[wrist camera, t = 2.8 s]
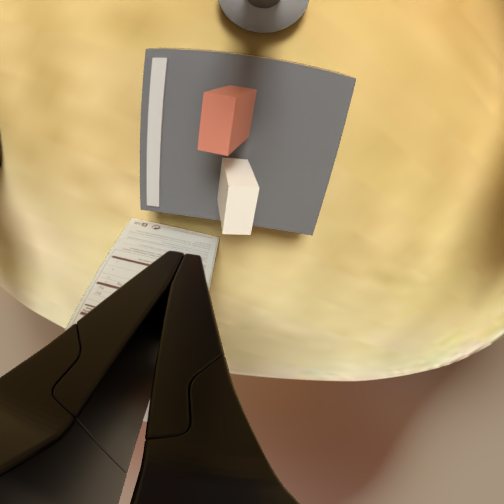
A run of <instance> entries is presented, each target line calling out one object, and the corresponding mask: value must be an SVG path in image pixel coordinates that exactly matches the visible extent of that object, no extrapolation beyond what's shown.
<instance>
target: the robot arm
mask: <svg viewBox="0 0 504 504" xmlns="http://www.w3.org/2000/svg"><path fill="white" fill-rule="evenodd" d="M0 166H1V164H0ZM149 401H150V404H149ZM148 404H149V411H148V419H147V427H146V435H145V439H146V441H145V444H144V453H143V458H142V463H141V468H140V472H139V475H138V479H137V482H136V486H135V489H134V492H133V496H132V499H131V502H130V504H300V503H299V502H298V501H297V500H296V499H295V498H294V497H293V496H292V495H291V494H290V493H289V491H288V490H287V489H286V488H285V487H284V486H283V484H282V483H281V482H280V480H279V479H278V477H277V476H276V474H275V473H274V471H273V469H272V468H271V466H270V464H269V462H268V460H267V459H266V457H265V455H264V453H263V451H262V449H261V446H260V444H259V443H258V440H257V438H256V436H255V434H254V432H253V430H252V428H251V426H250V424H249V422H248V419H247V418H246V415H245V413H244V411H243V408H242V406H241V404H240V401H239V399H238V396H237V394H236V391H235V389H234V386H233V382H232V379H231V376H230V373H229V369H228V365H227V362H226V358H225V357H224V351H223V347H222V343H221V339H220V335H219V331H218V327H217V323H216V319H215V315H214V311H213V306H212V302H211V298H210V294H209V289H208V285H207V281H206V276H205V272H204V267H203V263H202V258H201V256H200V255H195V254H189V253H187V254H185V255H184V253H183V252H177V251H168V252H166V253H165V254H163V255H162V256H161V257H159V258H158V259H157V260H155V261H154V262H153V263H151V264H150V265H149V266H147V267H146V268H145V269H143V270H142V271H141V272H139V273H138V274H137V275H135V276H134V277H133V278H132V279H130V280H129V281H128V282H126V283H125V284H124V285H122V286H121V287H120V288H119V289H117V290H116V291H115V292H113V293H112V294H111V295H110V296H108V297H107V298H106V299H104V300H103V301H102V302H101V303H99V304H98V305H97V306H96V307H94V308H93V309H92V310H91V311H89V312H88V313H87V314H86V315H84V316H83V317H82V318H81V319H79V320H78V321H77V324H73V325H72V326H71V327H69V328H68V329H67V330H66V331H65V332H63V333H62V334H61V335H59V336H58V337H57V338H56V339H54V340H53V341H52V342H51V343H49V344H48V345H47V346H45V347H44V348H42V349H41V350H40V351H38V352H37V353H35V354H34V355H33V356H31V357H30V358H28V359H27V360H25V361H24V362H22V363H21V364H19V365H18V366H16V367H15V368H14V369H12V370H11V371H9V372H8V373H6V374H5V375H4V376H2V377H1V378H0V504H118V503H119V499H120V496H121V493H122V489H123V486H124V482H125V478H126V473H127V471H128V468H129V465H130V461H131V458H132V454H133V451H134V448H135V444H136V441H137V438H138V435H139V432H140V428H141V425H142V422H143V419H144V416H145V413H146V410H147V407H148Z"/></svg>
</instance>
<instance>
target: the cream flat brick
mask: <svg viewBox="0 0 504 504" xmlns="http://www.w3.org/2000/svg"><path fill="white" fill-rule="evenodd" d="M258 193H259V186H258V183H257V181H256V178H255V176H254V173H253V171H252V168H251V166H250V164H249V161H248V159H236V158H222V164H221V172H220V180H219V189H218V197H217V201H218V208H219V214H220V221H221V228H222V234H237V235H251V230H252V225H253V220H254V214H255V209H256V204H257V198H258Z"/></svg>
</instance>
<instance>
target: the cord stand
mask: <svg viewBox="0 0 504 504" xmlns="http://www.w3.org/2000/svg"><path fill="white" fill-rule="evenodd" d="M308 2H309V0H219V4H220V6H221V8H222V10H223V12H224V13H225V15H226V16H227V17H228V18H229V19H230V20H231V21H232V22H234V23H235V24H236V25H238V26H240V27H241V28H244V29H246V30H249V31H253V32H258V33H270V32H276V31H280V30H283V29H285V28H287V27H289V26H291V25H292V24H294V23H295V22H296V21H297V20H298V19H299V18H300V17H301V16H302V15H303V13H304V12H305V10H306V8H307V6H308Z"/></svg>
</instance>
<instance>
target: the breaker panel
mask: <svg viewBox="0 0 504 504" xmlns="http://www.w3.org/2000/svg"><path fill="white" fill-rule="evenodd" d="M355 81H356V78H353V77H350V76H348V75H345V74H342V73H338V72H334V71H330V70H327V69H322V68H318V67H314V66H310V65H305V64H300V63H296V62H291V61H285V60H280V59H274V58H269V57H262V56H256V55H249V54H241V53H233V52H224V51H213V50H201V49H184V48H151V49H146V53H145V63H144V75H143V89H142V105H141V130H140V201H141V210H148V211H155V212H163V213H170V214H177V215H184V216H191V217H198V218H205V219H212V220H218V221H220V214H219V208H218V201H217V197H218V189H219V180H220V172H221V164H222V158H236V159H248V161H249V164H250V166H251V168H252V171H253V173H254V176H255V178H256V181H257V183H258V186H259V193H258V198H257V204H256V209H255V214H254V220H253V225H252V226H257V227H264V228H270V229H276V230H282V231H289V232H295V233H301V234H307V235H313V232H314V229H315V225H316V222H317V219H318V216H319V212H320V209H321V206H322V203H323V199H324V196H325V192H326V189H327V186H328V182H329V179H330V175H331V172H332V168H333V165H334V161H335V158H336V154H337V151H338V147H339V143H340V140H341V136H342V132H343V128H344V125H345V121H346V117H347V113H348V109H349V105H350V102H351V98H352V94H353V89H354V85H355ZM229 85H233V86H240V87H246V88H252V89H257V93H256V99H255V105H254V110H253V116H252V122H251V128H250V134H249V137H248V138H247V139H246V140H245V141H244V142H243V143H242V144H240V145H239V146H238V147H237V148H236V149H235V150H234V151H233V152H232V153H231V154H230V155H228V156H225V155H220V154H216V153H211V152H206V151H201V150H198V139H199V130H200V120H201V111H202V102H203V94H204V92H207V91H210V90H214V89H217V88H221V87H225V86H229Z"/></svg>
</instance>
